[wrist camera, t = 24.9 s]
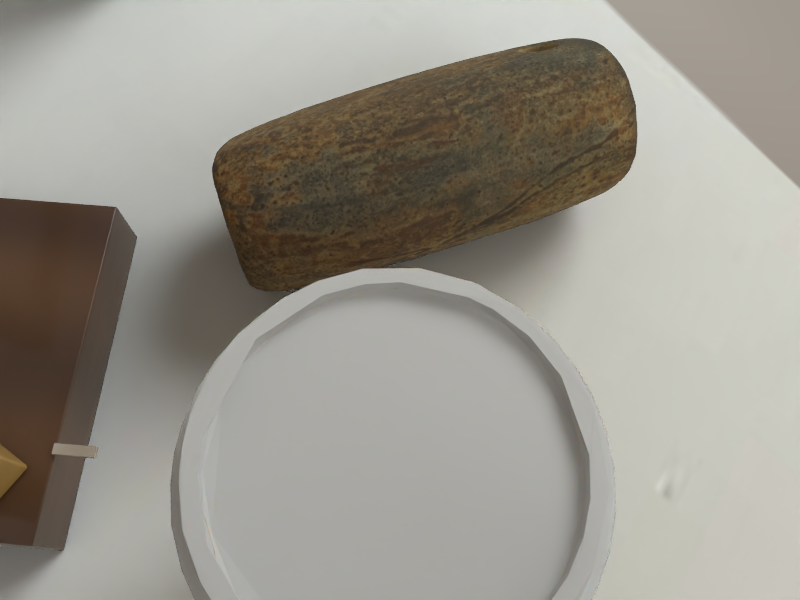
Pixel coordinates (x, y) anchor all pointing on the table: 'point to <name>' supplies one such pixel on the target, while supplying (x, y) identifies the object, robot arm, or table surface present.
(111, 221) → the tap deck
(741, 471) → the table surface
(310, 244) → the brown cylindrical piece
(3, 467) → the tap handle
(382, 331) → the disposable coffee cup
